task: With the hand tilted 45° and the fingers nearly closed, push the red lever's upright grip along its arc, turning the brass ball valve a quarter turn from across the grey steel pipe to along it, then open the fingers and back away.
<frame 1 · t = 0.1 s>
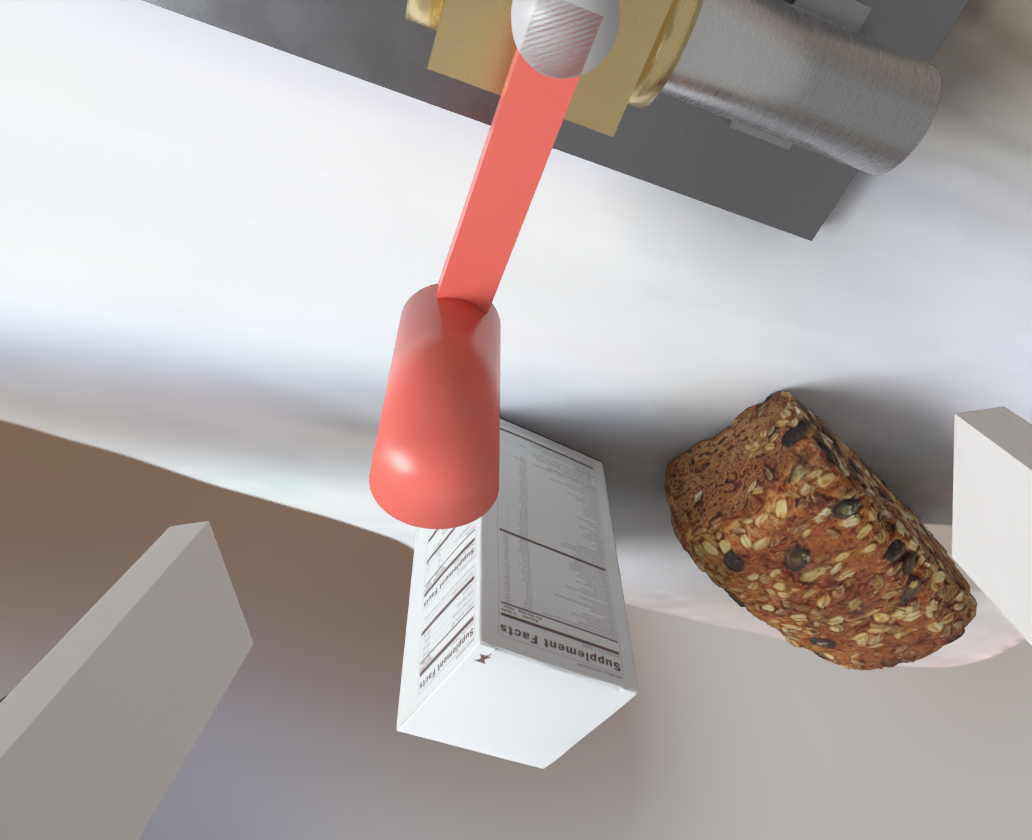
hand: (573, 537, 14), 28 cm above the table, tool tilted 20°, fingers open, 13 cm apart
lever: (496, 254, 24), point 15 cm above the table, hinge at 0.0°
bread: (795, 490, 53), on the table
supplement box: (510, 478, 52), on the table
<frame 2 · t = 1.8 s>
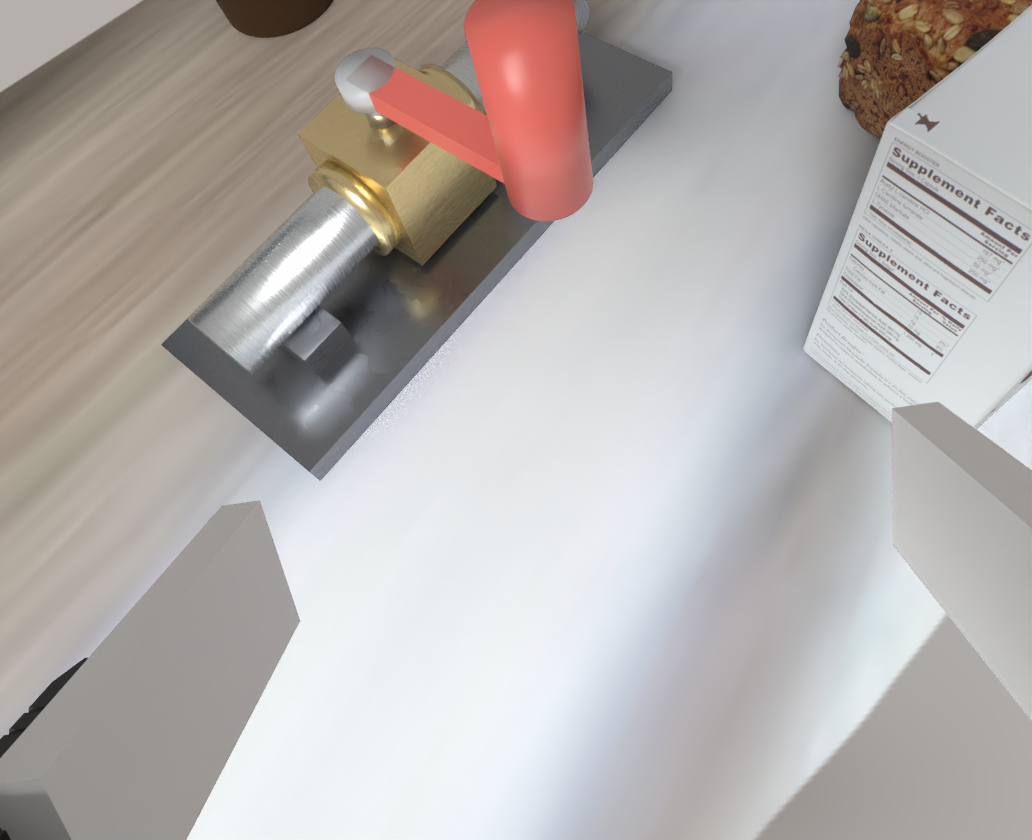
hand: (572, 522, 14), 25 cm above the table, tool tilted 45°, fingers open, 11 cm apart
valve pipe: (428, 220, 50), on the table
lever: (435, 61, 34), point 15 cm above the table, hinge at 0.0°
bread: (1003, 87, 47), on the table
supplement box: (925, 352, 41), on the table
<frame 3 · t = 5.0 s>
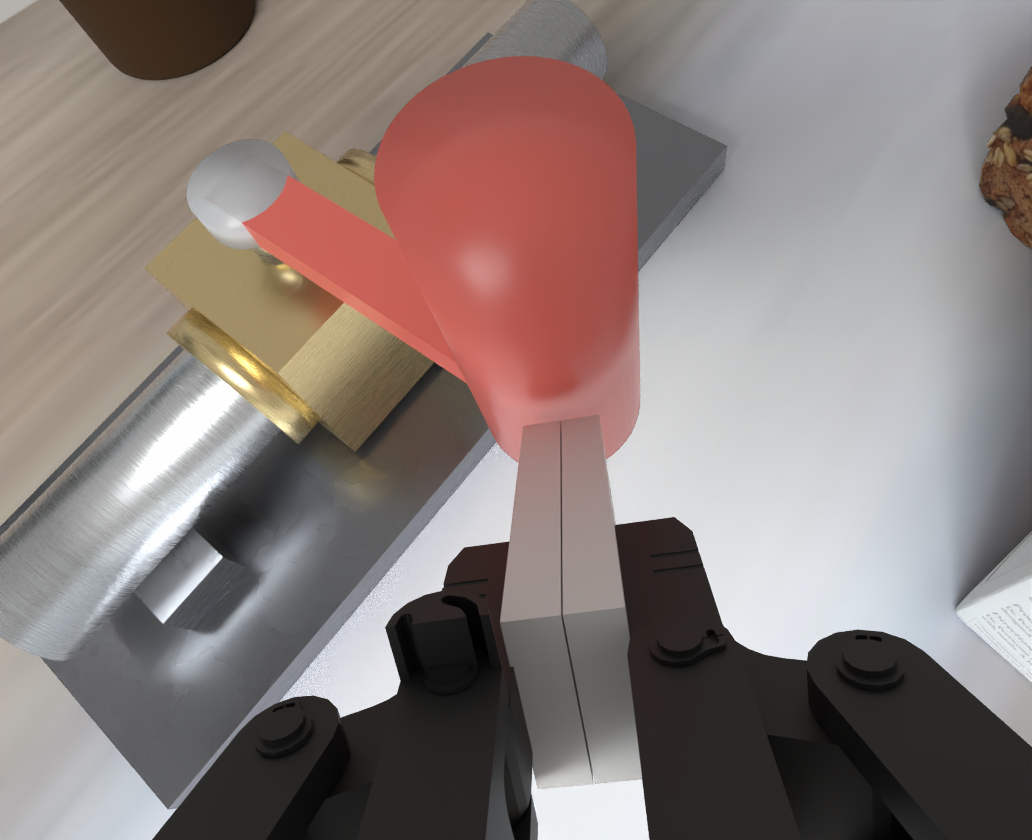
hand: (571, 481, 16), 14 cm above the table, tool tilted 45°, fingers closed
valve pipe: (369, 364, 34), on the table
lever: (341, 193, 18), point 15 cm above the table, hinge at 1.5°, touching gripper
olive oil: (184, 24, 45), on the table
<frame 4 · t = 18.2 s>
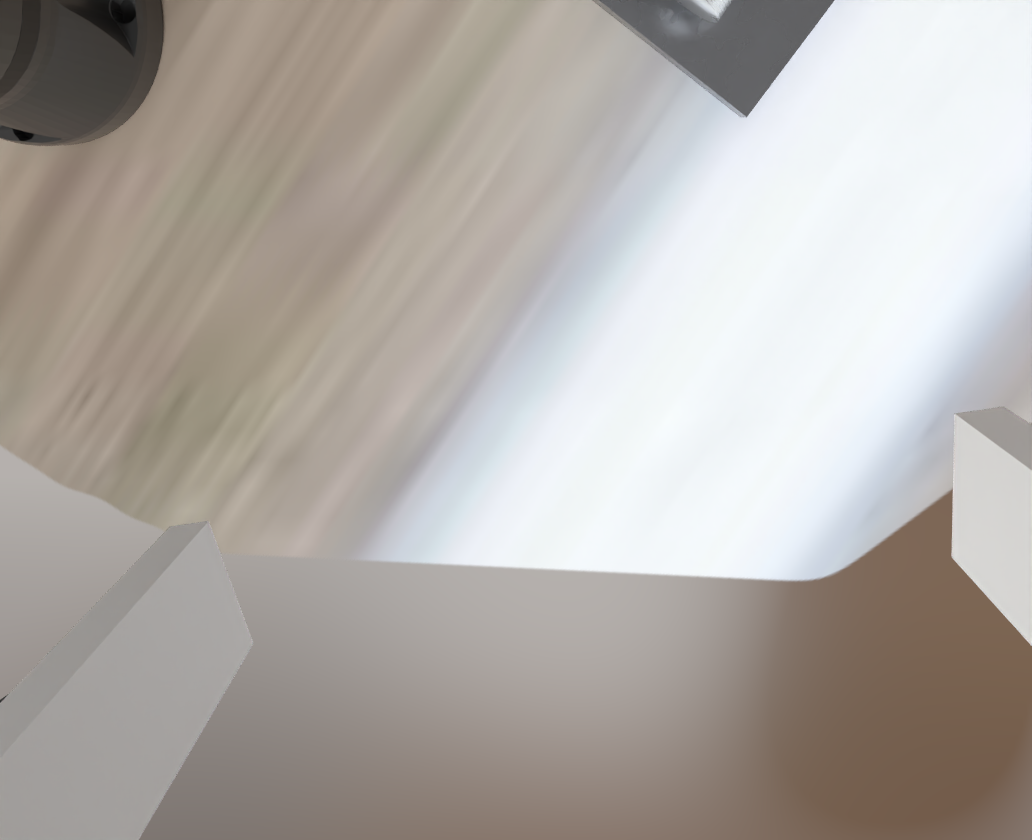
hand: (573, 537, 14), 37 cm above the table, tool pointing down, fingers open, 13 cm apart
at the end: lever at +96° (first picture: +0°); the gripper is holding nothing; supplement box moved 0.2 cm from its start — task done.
